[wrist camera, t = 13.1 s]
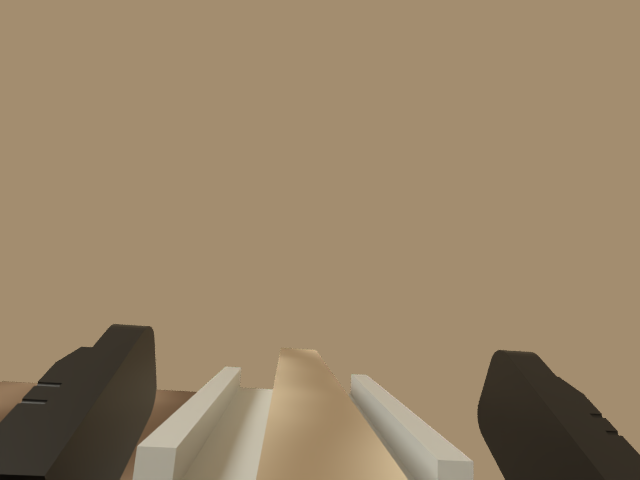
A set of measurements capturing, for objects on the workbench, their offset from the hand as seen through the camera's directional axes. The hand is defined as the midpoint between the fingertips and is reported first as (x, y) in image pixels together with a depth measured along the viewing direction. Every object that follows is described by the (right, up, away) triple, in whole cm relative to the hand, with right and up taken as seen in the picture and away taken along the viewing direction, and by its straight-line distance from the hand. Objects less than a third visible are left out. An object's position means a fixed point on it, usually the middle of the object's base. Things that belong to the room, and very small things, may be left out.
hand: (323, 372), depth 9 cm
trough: (-1, -6, +9) cm, 11 cm away
